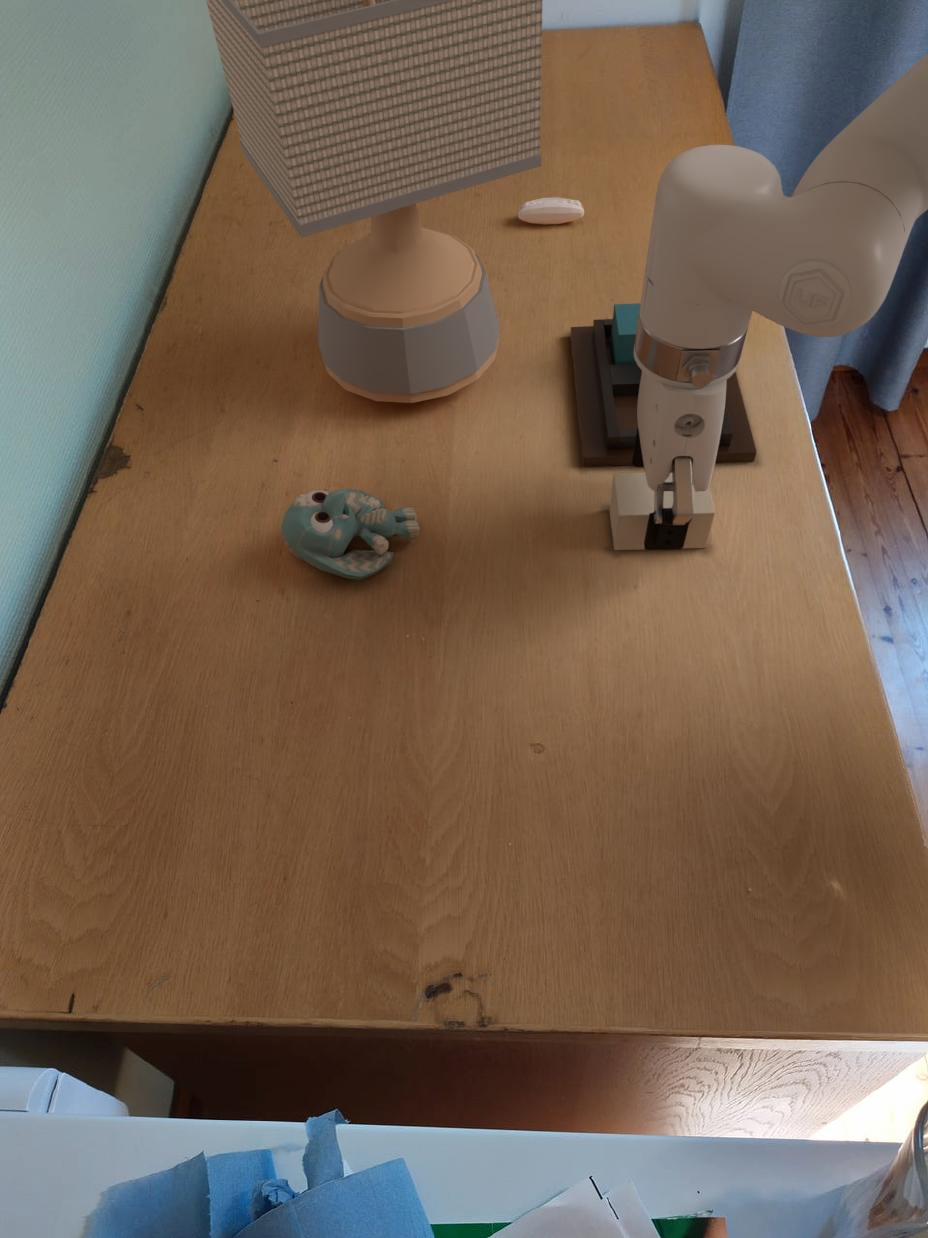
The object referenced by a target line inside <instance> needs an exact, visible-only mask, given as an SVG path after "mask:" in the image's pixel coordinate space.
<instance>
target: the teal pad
mask: <svg viewBox="0 0 928 1238" xmlns="http://www.w3.org/2000/svg"><path fill="white" fill-rule="evenodd" d="M640 305H641V302H638V303H636V302H635V303H614V304H613V312H612V319H613V322H612V332H611V348H612V355H613V362H614V365H622V364H637V363H636V361H635V358H634V345H635V339H636V332H637V325H638V318H639V311H640Z"/></svg>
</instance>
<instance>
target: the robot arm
mask: <svg viewBox="0 0 928 1238" xmlns="http://www.w3.org/2000/svg"><path fill="white" fill-rule="evenodd" d="M926 211H928V53H927V54H925V56H923V57H922V58H921V59H920V60H919V61H917V62H916V63H915V64H914V65H913V66H911V67H910V68H909V69H908V70H907V71H906V72H905V73H903V74H902V75H901V76H900V77H899V78H898V79H896V80H895V82H893V83H892V84H891V85H890V86H889V87H888V88H886V90H884V91H883V92H882V93H881V94H880V95H878V97H877V98H876V99H875V100H873V102H872V103H871V104H869V105H868V106H867V107H866V108H864V110H862V112H861V113H859V114H858V115H857V116H856V117H855V118H854V119H853V120H852V121H850V122H849V124H847V125H846V126H845V127H844V128H843V129H842V130H841V131H839V133H838V134H837V135H836V136H835V137H834V138H833V139H832V140H831V141H830V142H829V143H828V144H827V145H826V146H824V148H823V149H822V150H820V152H819V153H818V155H817V156H816V157H815V158H814V159H813V161H812V162H810V164H809V166H808V167H807V169H806V171H805V172H804V174H803V175H802V177H801V179H800V181H799V183H798V184H797V186H796V187H795V189H794V191H793V193H792V195H791V196H786V195H785V194H784V191H783V184H782V179H781V175H780V173H779V171H778V169H777V167H776V166H775V165H774V164H773V163H772V162H771V160H769V159H768V158H766V156H764V155H763V154H761V153H759V152H757V151H754V150H752V149H749V148H746V147H742V146H739V145H731V144H708V145H701V146H700V145H699V146H697V147H692V148H690V149H687V150H685V151H683V152H682V153H680V154H678V155H675V157H674V158H673V159H672V160H671V161H670V162H669V163H668V164H667V165H666V166H665V168H664V169H663V171H662V173H661V175H660V177H659V180H658V183H657V187H656V193H655V197H654V205H653V211H652V212H653V213H652V217H651V219H652V221H651V226H650V233H649V241H648V248H647V254H646V262H645V269H644V276H643V284H642V290H641V298H640V303H641V305H640V311H639V318H638V325H637V332H636V339H635V345H634V358H635V361H636V363H637V365H638V367H640V369H641V370H642V374H641V380H640V387H639V394H638V404H637V420H638V429H637V432H636V438H635V444H634V450H633V457H632V463H633V465H632V466H634V467H635V468H644V473H645V475H646V480H647V484H648V486H649V487H650V488H651V489H652V490H653V491H654V512H653V513H650V514H649V519H648V524H647V529H646V534H645V540H644V547H645V550H646V551H678V550H682V548H683V546H684V542H685V539H686V535H687V531H688V527H689V523H690V522H691V521H692V517H693V489H692V488H693V485H694V488H695V491H706V490H707V489H708V488H709V486H711V484H712V479H713V474H714V472H715V471H714V470H715V465H716V462H715V461H716V456H717V451H718V446H719V441H720V435H721V430H722V424H723V417H724V409H725V400H726V384H727V379H728V378H729V377H731V375H732V374H733V373H734V372H736V371H737V370H738V367H739V364H740V360H741V357H742V353H743V348H744V345H745V340H746V337H747V334H748V329H749V325H750V322H751V317H752V314H753V312H754V313H756V314H759V316H761V317H764V318H766V319H768V320H770V321H771V322H773V323H775V324H778V325H780V326H781V327H784V328H786V329H789V330H791V331H794V332H795V333H799V334H802V335H805V336H811V337H816V338H834V337H840V336H844V335H847V334H850V333H852V332H854V331H856V330H858V329H860V328H861V327H863V326H864V325H865V324H866V323H868V322H870V320H871V319H872V318H873V317H874V316H875V315H876V313H878V311H880V310H879V309H880V307H881V306H882V305H883V304H884V302H885V300H886V298H887V295H888V294H889V291H890V289H891V286H892V283H893V281H894V278H895V276H896V273H897V270H898V267H899V265H900V262H901V259H902V256H903V253H904V250H905V248H906V245H907V242H908V240H909V237H910V234H911V232H912V229H913V227H914V224H915V222H916V220H917V219H918V218H919V217H920V216H921V215H923V214H924V213H925V212H926ZM670 473H672V479H673V482H665V480H666V479H667V478H668V477H669V475H670ZM664 491H673V506H672V508H663V500H664ZM683 549H684V548H683Z"/></svg>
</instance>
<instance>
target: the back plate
mask: <svg viewBox="0 0 928 1238" xmlns="http://www.w3.org/2000/svg"><path fill="white" fill-rule="evenodd" d="M612 322H613V318H604V319H603V318H602V319H599V318H598V319H593V320H592V325H588V326H587V325H586V326H585V325H584V326H571V327H570V331H569V336H570V339H569V340H570V346H571V347H570V348H571V358H572V359H571V360H572V368H573V377H574V378H573V379H574V388H575V399H576V400H575V401H576V408H577V419H578V430H579V438H580V449H581V451H580V452H581V461H582V467H610V466H612V467H613V466H634V465H633V463H632V457H633V450H634V444H635V438H636V432H637V429H638V420H637V404H638V394H639V387H640V380H641V374H642V370H641V369H640V367H638V365H637V364H622V365H614V362H613V355H612V348H611V332H612ZM756 455H757V448H756V443H755V440H754V437H753V433H752V428H751V426H750V422H749V417H748V414H747V411H746V406H745V402H744V399H743V395H742V391H741V388H740V384H739V381H738V376H737V373H736V371H735V372H734V373H733V374H732V375H731V377H729V378H728V379H727V384H726V400H725V409H724V417H723V424H722V430H721V435H720V441H719V446H718V451H717V456H716V461H715V463H738V462H739V463H740V462H741V463H742V462H743V463H744V462H755V460H756Z"/></svg>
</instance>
